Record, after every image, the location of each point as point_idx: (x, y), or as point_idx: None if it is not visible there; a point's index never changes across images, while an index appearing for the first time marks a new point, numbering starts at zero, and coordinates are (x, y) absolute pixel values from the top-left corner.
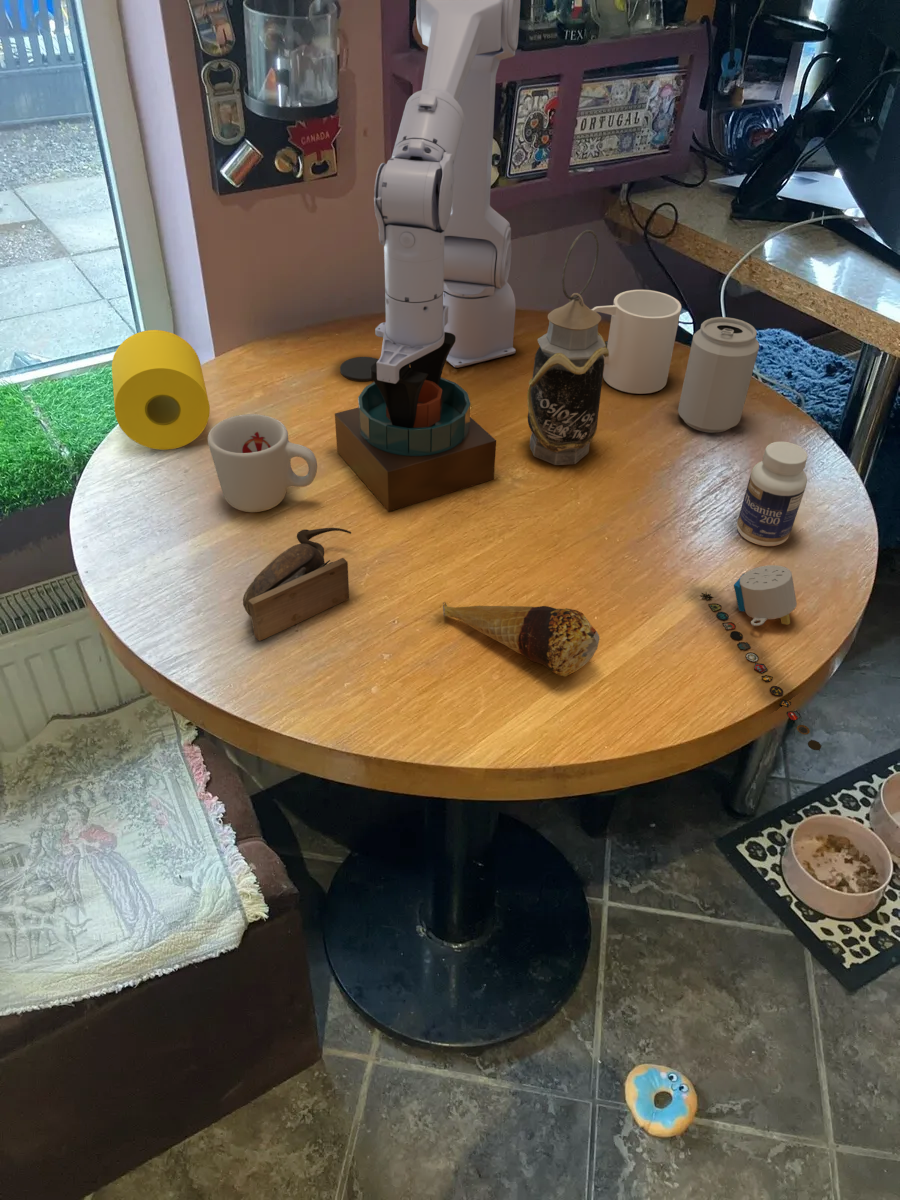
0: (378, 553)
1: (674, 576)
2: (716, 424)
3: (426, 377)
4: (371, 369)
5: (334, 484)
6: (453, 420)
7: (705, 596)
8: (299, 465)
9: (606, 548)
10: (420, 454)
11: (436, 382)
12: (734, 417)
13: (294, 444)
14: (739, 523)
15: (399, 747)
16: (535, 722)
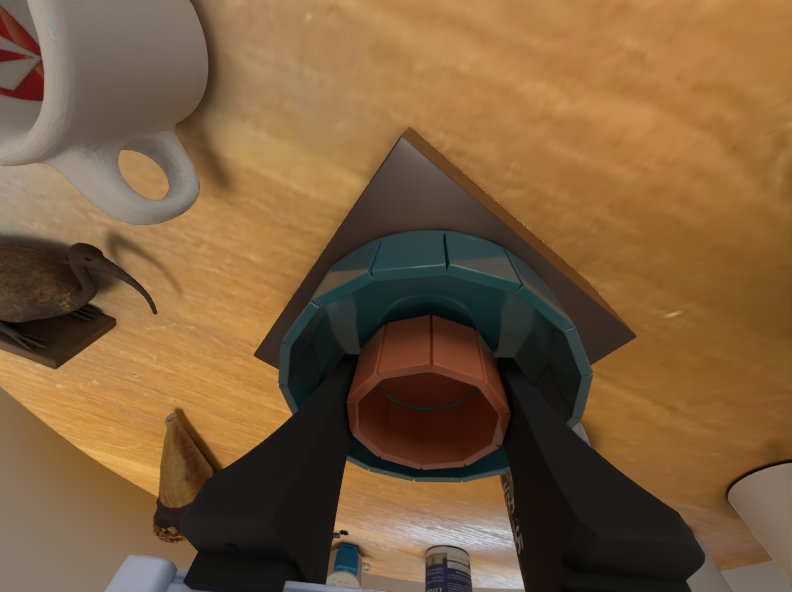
0: (205, 324)
1: (356, 519)
2: None
3: (512, 436)
4: (185, 522)
5: (300, 186)
6: (380, 472)
7: (343, 532)
8: (315, 62)
9: (365, 487)
10: None
11: (504, 447)
12: None
13: (82, 176)
14: (438, 557)
15: (42, 415)
16: (147, 472)
